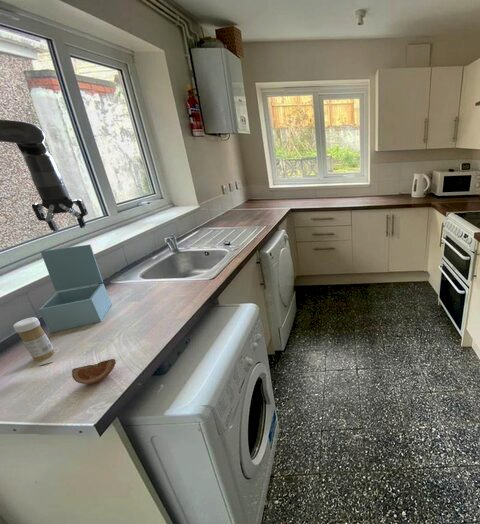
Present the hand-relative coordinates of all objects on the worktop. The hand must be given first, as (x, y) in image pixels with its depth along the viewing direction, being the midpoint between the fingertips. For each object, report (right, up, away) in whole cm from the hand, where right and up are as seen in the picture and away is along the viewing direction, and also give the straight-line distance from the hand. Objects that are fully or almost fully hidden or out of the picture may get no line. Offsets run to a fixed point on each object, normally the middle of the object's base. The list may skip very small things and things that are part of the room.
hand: (69, 229), depth 108 cm
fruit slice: (+42, -43, -34) cm, 69 cm away
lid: (+7, -14, -6) cm, 17 cm away
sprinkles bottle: (+20, -41, -27) cm, 53 cm away
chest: (+11, -32, -6) cm, 34 cm away
